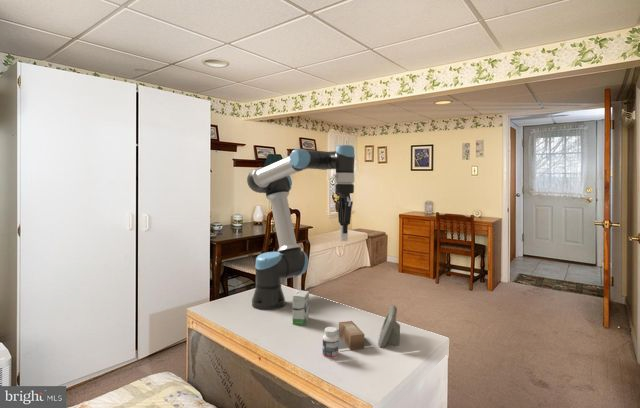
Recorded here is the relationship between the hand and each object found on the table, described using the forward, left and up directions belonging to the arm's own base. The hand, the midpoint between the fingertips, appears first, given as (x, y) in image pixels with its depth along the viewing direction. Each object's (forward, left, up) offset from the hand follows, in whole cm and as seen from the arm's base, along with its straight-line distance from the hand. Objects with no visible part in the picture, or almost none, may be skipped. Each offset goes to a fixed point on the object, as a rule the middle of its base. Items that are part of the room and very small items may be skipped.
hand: (343, 240), depth 148 cm
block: (+17, -5, -30) cm, 34 cm away
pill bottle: (+30, -15, -33) cm, 47 cm away
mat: (+20, -5, -32) cm, 39 cm away
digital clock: (+24, +9, -33) cm, 41 cm away
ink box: (0, -18, -33) cm, 37 cm away
